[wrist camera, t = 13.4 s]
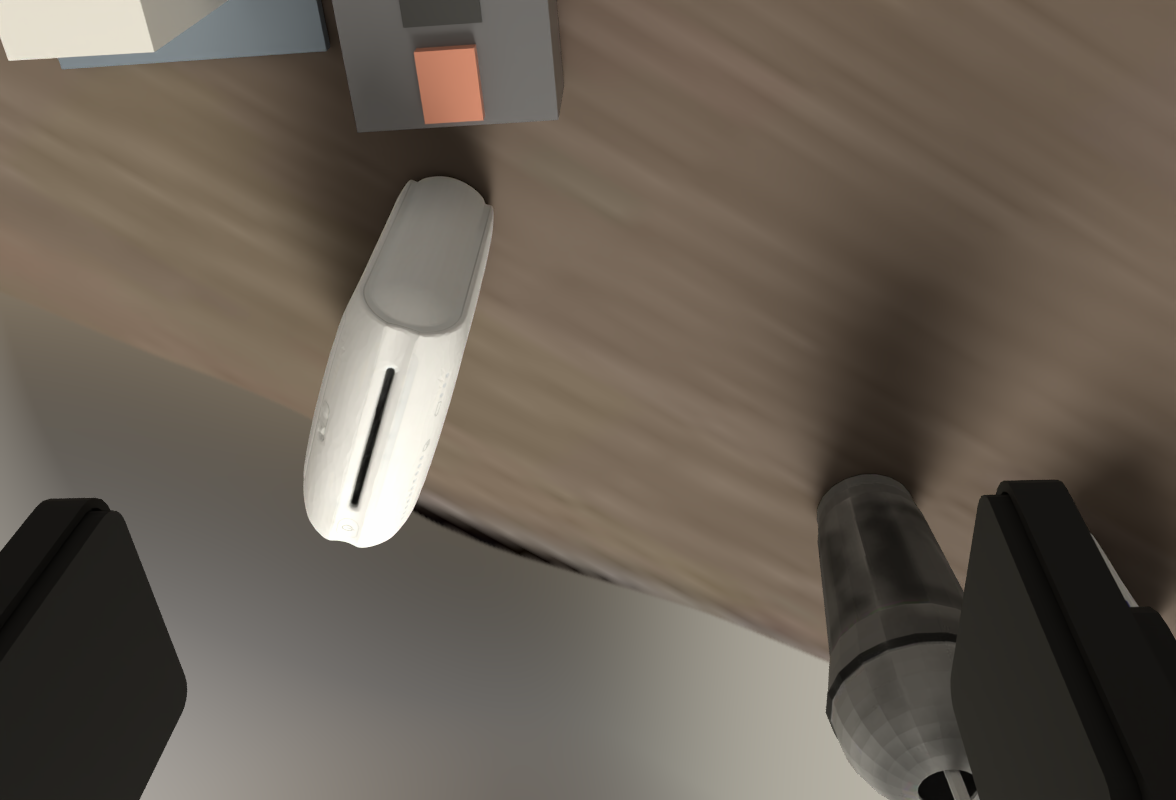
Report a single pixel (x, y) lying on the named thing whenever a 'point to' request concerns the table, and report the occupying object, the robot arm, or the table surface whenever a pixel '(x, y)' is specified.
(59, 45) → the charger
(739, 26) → the table surface
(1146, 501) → the table surface
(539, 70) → the power strip
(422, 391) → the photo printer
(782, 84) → the table surface
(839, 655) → the beverage cup
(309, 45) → the mat
